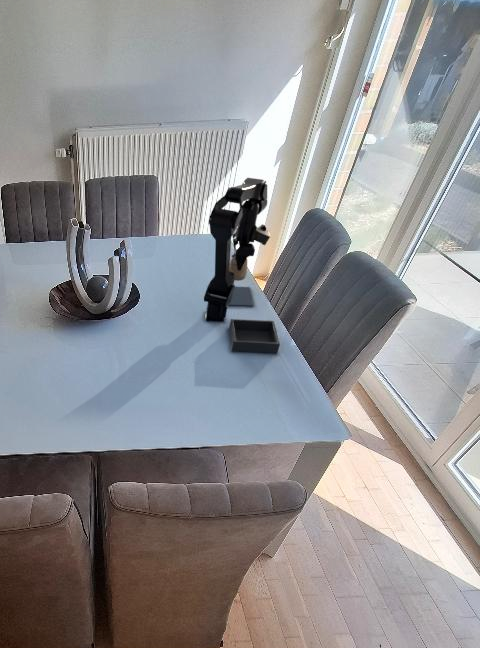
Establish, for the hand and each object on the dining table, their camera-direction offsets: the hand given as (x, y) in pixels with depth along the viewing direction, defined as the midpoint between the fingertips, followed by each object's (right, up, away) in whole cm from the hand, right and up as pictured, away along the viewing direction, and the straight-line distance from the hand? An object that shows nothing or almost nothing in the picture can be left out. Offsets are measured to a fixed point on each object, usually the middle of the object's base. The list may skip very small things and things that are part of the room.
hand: (238, 265), depth 168 cm
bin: (+1, -31, -13) cm, 34 cm away
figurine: (0, -3, +4) cm, 5 cm away
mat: (0, -8, +9) cm, 12 cm away
